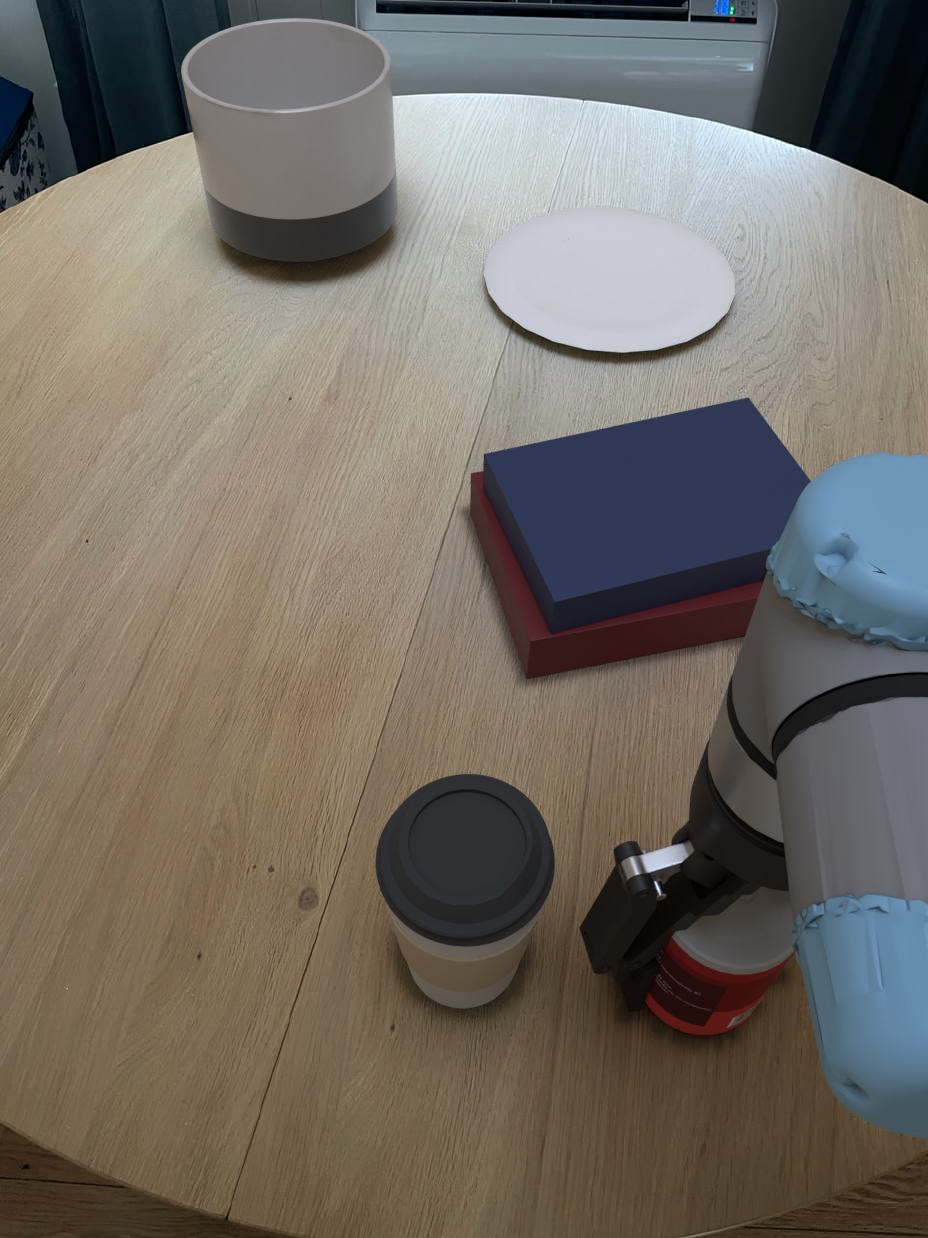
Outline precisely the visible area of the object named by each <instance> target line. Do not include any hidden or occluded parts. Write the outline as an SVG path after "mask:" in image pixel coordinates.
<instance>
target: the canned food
mask: <svg viewBox="0 0 928 1238" xmlns="http://www.w3.org/2000/svg"><path fill="white" fill-rule="evenodd" d="M792 928H793V916H792V908H791V899H790V891H781V890H774V889H769V888H765V887H762V886H761V887H760V888H759V889H758V890H756V891H755V892H754V893H753V894H751V895H742V896H741V897H740V898H739V899H738V900H736V901H735V902H734V903H733V904H732V905H730V906H729V907H728V908H727V909H726V910H724V911H723V912H722V913H721V914H719V915H715V916H702V917H701V918H699V919H698V920H697V921H696V922H695V923H694V924H692V925H691V926H690V927H689V928H688V929H687V930H680V931H677V932H675V933H674V935H673V936H672V938H671V940H670V942H669V944H668V946H667V947H665V948H664V949H663V950H662V951H661V952H660V953H658V954H657V955H656V956H655V959H656V961H657V964H658V969H657V972H656V974H655V977H654V979H653V981H652V984H651V986H650V988H649V991H648V993H647V996H646V998H645V1000H644V1002H645V1004H646V1006H647V1007H648V1008H649V1009H650V1011H651V1013H653V1014H654V1015H655V1016H656V1017H657V1018H658V1019H659V1020H660V1021H661V1022H663V1023H665V1024H666V1025H667V1026H669V1027H670V1028H673V1029H674V1030H677V1031H679V1032H682V1033H686V1034H689V1035H695V1036H714V1035H718V1034H723V1033H727V1032H729V1031H731V1030H733V1029H735V1028H737V1027H739V1026H740V1025H741V1024H742V1023H744V1022H745V1021H746V1020H747V1019H748V1018H749V1017H750V1016H751V1015H752V1013H753V1012H754V1011H755V1010H756V1008H757V1007H758V1005H759V1004H760V1003H761V1001H762V1000H763V998H764V997H765V995H766V994H767V992H768V991H769V989H770V988H771V987H772V985H773V984H774V982H775V981H776V980H777V978H778V977H779V975H780V974H781V973H782V971H783V969H784V968H785V967H786V966H787V964H788V962H789V961H790V960H791V958H792V957H793V955H794V953H795V952H796V951H795V950H794V949H793V948H792V939H791V936H792Z"/></svg>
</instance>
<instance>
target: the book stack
mask: <svg viewBox="0 0 928 1238" xmlns="http://www.w3.org/2000/svg"><path fill="white" fill-rule="evenodd" d="M482 465H483V467H482V468H483V469H482V470H481V471H476V472H471V473H470V494H469V495H470V496H469V497H470V499H469V502H470V503H469V514H470V516H471V519H472V523H473V525H474V528H475V531H476V534H477V537H478V540H479V542H480V547H481V550H482V552H483V555H484V558H485V560H486V563H487V567H488V570H489V573H490V575H491V579H492V581H493V585H494V588H495V590H496V593H497V596H498V599H499V602H500V605H501V608H502V610H503V611H502V612H503V613H504V616H505V619H506V623H507V625H508V628H509V631H510V635H511V637H512V640H513V643H514V646H515V649H516V652H517V654H518V657H519V661H520V663H521V667H522V670H523V672H524V675H525V678H526V680H528V679H533V678H537V677H543V676H548V675H552V674H559V673H563V672H568V671H574V670H579V669H582V668H589V667H594V666H599V665H604V664H609V663H614V662H618V661H619V662H620V661H624V660H629V659H634V658H640V657H644V656H651V655H655V654H660V653H665V652H670V651H674V650H681V649H685V648H691V647H695V646H700V645H705V644H710V643H715V642H721V641H726V640H731V639H736V638H741V637H745V635H746V632H747V629H748V626H749V623H750V620H751V617H752V614H753V612H754V609H755V606H756V603H757V600H758V597H759V594H760V591H761V588H762V585H763V582H764V579H765V576H766V573H767V568H766V561H767V557H768V556H769V555H770V552H771V549H772V547H773V546H774V545H775V544H776V543H777V542H778V541H779V540H780V538H781V535H782V533H783V531H784V529H785V527H786V525H787V522H788V520H789V518H790V516H791V514H792V512H793V509H794V507H795V505H796V503H797V500H798V498H799V496H800V495H801V493H802V492H803V490H804V489H805V487H806V486H807V485H808V484H809V483H810V482H811V481H812V480H811V478H809V476H808V475H807V473H805V471H804V469H803V468H802V467H801V466H800V464H799V463H798V462H797V460H796V459H795V458H794V456H793V455H792V453H790V451H789V450H788V448H787V447H786V445H785V444H784V443H783V441H782V440H781V439H780V438H779V436H778V435H777V434H776V433H775V430H773V428H772V426H771V425H770V424H769V423H768V422H767V420H766V419H765V417H764V416H763V414H761V412H760V410H759V409H758V408H757V407H756V405H755V404H754V402H753V401H752V399H750V397H744V398H740V399H735V400H730V401H726V402H720V403H715V404H712V405H711V404H710V405H707V406H702V407H697V408H692V409H687V410H684V411H679V412H675V413H669V414H665V415H660V416H655V417H651V418H645V419H639V420H637V421H631V422H628V423H623V424H622V423H621V424H617V425H613V426H608V427H603V428H599V429H594V430H589V431H585V432H581V433H575V434H571V435H566V436H561V437H556V438H551V439H547V440H543V441H537V442H533V443H529V444H524V445H519V446H515V447H514V446H513V447H509V448H506V449H501V450H496V451H491V452H485V453H483V464H482Z"/></svg>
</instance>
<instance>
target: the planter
mask: <svg viewBox="0 0 928 1238" xmlns="http://www.w3.org/2000/svg"><path fill="white" fill-rule="evenodd" d="M180 73H181V80H182V85H183V90H184V94H185V100H186V104H187V110H188V113H189V114H188V115H189V120H190V125H191V129H192V135H193V139H194V144H195V149H196V155H197V160H198V165H199V169H200V175H201V179H202V186H203V191H204V195H205V201H206V206H207V209H208V210H207V211H208V217H209V220H210V224H211V226H212V228H213V230H214V232H215V233H216V234H217V236H218V237H219V238H220V239H221V240H222V241H223V242H224V243H226V244H227V245H229V246H230V247H232V248H234V249H236V250H238V251H240V252H242V253H244V254H246V255H247V254H248V255H250V256H253V257H256V258H260V259H265V260H270V261H280V262H293V263H295V262H297V263H298V262H313V261H315V262H316V261H321V260H322V261H323V260H327V259H332V258H337V257H342V256H344V255H347V254H351V253H354V252H356V251H359V250H360V249H363V248H365V247H367V246H369V245H370V244H372V243H374V242H376V241H377V240H378V239H379V238H381V237H383V235H384V234H385V233H386V232H387V231H389V229H390V228H391V226H392V225H393V223H394V222H395V219H396V217H397V214H398V185H397V184H398V183H397V164H396V162H397V161H396V141H395V139H396V138H395V117H394V97H393V96H394V95H393V94H394V93H393V75H392V74H393V73H392V59H391V55H390V52H389V50H388V49H387V47H386V46H385V45H384V44H383V43H382V42H381V41H380V40H379V39H378V38H376V37H375V36H374V35H372V34H370V33H369V32H366V31H365V30H362V29H361V28H358V27H355V26H352V25H349V24H345V23H341V22H337V21H331V20H326V19H320V18H319V19H318V18H317V19H316V18H306V17H305V18H301V17H292V18H291V17H289V18H288V17H287V18H271V19H263V20H258V21H252V22H246V23H243V24H239V25H238V24H237V25H235V26H231V27H228V28H226V29H223V30H220V31H218V32H216V33H213V34H211V35H210V36H207V37H206V38H204V39H203V40H201V41H199V42H198V43H197V44H195V45H194V46H193V47H192V48H191V49H190V50H189V51H188V52H187V54H186V55H185V57H184V59H183V60H182V63H181V70H180Z"/></svg>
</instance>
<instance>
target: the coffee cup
mask: <svg viewBox="0 0 928 1238" xmlns="http://www.w3.org/2000/svg"><path fill="white" fill-rule="evenodd" d="M375 851H376V852H375V874H376V879H377V884H378V887H379V890H380V893H381V896H382V898H383V900H384V904H385V906H386V911H387V913H388V916H389V920H390V921H391V925H392V928H393V931H394V934H395V937H396V941H397V943H398V946H399V949H400V951H401V954H402V956H403V958H404V960H405V961H406V963H407V965H408V968H409V969H408V970H409V972H410V975H411V977H412V979H413V981H414V982H415V984H416V985H417V987H418V989H420V991H421V992H422V993H423V994H424V995H425V996H426V997H428V998H429V999H431V1000H432V1001H434V1002H435V1003H437V1004H439V1005H441V1006H445V1007H448V1008H453V1009H460V1010H461V1009H472V1008H478V1007H480V1006H483V1005H486V1004H488V1003H490V1002H492V1001H493V1000H495V999H497V998H498V996H500V995H502V993H504V992H505V990H506V989H507V988H508V987H509V986H510V984H511V983H512V981H513V979H514V977H515V975H516V973H517V970H518V967H519V964H520V962H521V960H522V958H523V957H524V954H525V953H526V951H527V948H528V946H529V944H530V941H531V938H532V936H533V933H534V931H535V928H536V925H537V923H538V921H539V919H540V916H541V915H542V914H541V913H542V911H543V908H544V905H545V903H546V901H547V899H548V897H549V895H550V892H551V890H552V886H553V882H554V878H555V872H556V871H555V870H556V857H555V850H554V845H553V841H552V838H551V835H550V831H549V829H548V826H547V824H546V820H545V819H544V817H543V815H542V814H541V812H540V810H539V808H538V807H537V806H536V804H535V803H534V801H532V800H531V799H530V798H529V797H528V795H526V794H525V793H524V792H522V791H521V790H520V789H518V788H517V787H515V786H513V785H512V784H510V783H508V782H506V781H504V780H501V779H499V778H496V777H493V776H489V775H485V774H479V773H478V774H476V773H460V774H459V773H458V774H452V775H447V776H444V777H441V778H438V779H435V780H432V781H430V782H428V783H426V784H425V785H423V786H421V787H420V788H418V789H417V790H415V791H413V792H412V793H411V794H410V795H409V796H407V797H406V798H405V799H404V800H403V801H402V802H401V803H400V805H398V807H397V808H396V809H395V810H394V812H393V813H392V814H391V816H390V817H389V818H388V820H387V822H386V823H385V824H384V827H383V829H382V831H381V833H380V837H379V839H378V843H377V846H376V850H375Z"/></svg>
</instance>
